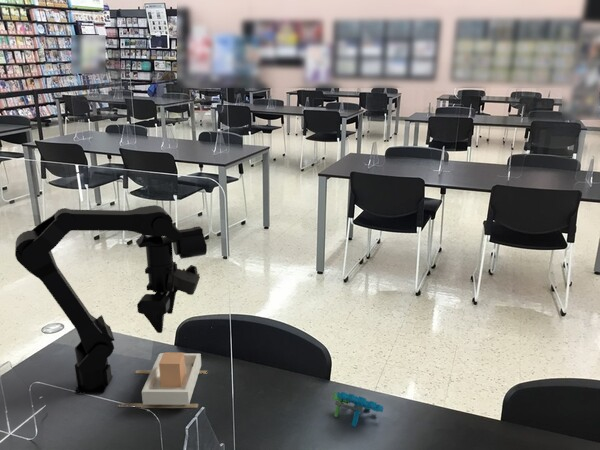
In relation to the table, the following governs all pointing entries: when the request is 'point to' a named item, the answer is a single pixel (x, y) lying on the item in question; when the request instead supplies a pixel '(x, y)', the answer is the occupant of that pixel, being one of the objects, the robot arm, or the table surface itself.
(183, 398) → the white open storage bin
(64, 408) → the table surface
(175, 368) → the part block
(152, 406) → the track
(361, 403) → the toy construction assembly
